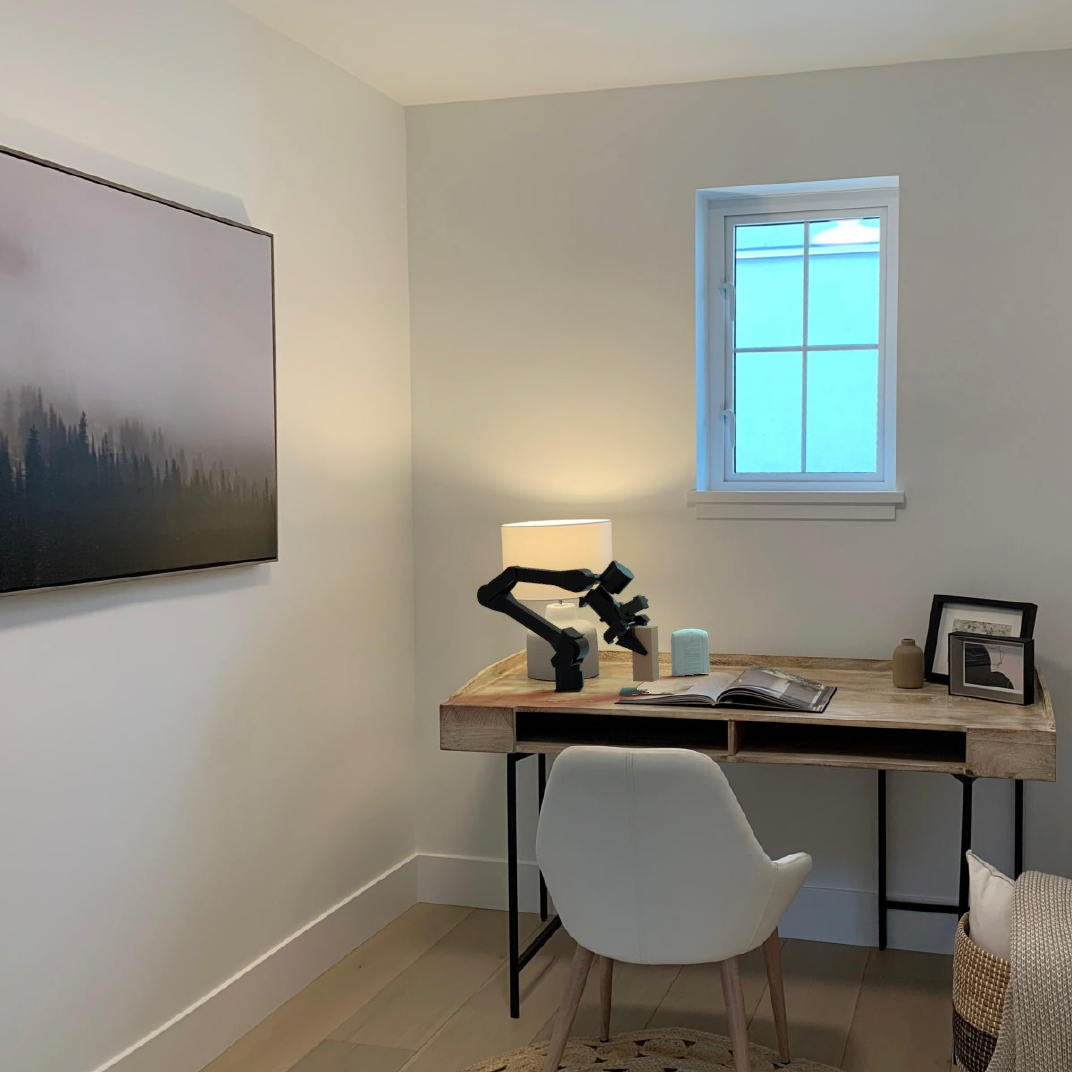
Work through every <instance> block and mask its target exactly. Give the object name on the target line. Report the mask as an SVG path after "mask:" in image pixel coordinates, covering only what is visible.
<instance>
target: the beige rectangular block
mask: <svg viewBox="0 0 1072 1072" xmlns="http://www.w3.org/2000/svg"><path fill="white" fill-rule="evenodd" d="M658 628H659V627H658V625H647V626H636V627H635V635H636V637H637V638H638V639H639V641H640V642H641V643H642V645H643V646H644V647H645V649H646V650H647V652H648V654H647V655H646V656H644V655H641V654H639V653H636V652H634V651H632V650H631V652H632V653H631V654H632V659H631V660H632V681H633V682H640V683H641V682H643V683H644V682H646V683H651V682H652V683H653V682H657V681H658V680H660V664H659V663H660V661H659V660H660V657H659V629H658Z"/></svg>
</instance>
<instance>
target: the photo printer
mask: <svg viewBox="0 0 1072 1072" xmlns="http://www.w3.org/2000/svg"><path fill="white" fill-rule="evenodd" d="M670 636H671V638H670V653H671V654H670V658H671V662H670V663H671V664H670V665H671V677H686V676H685V675H692V676H695V675H694V674H701V673H709V672H710V646H709V645H710V643H709V642H710V641H709V634H708V631H706V630H703V629H698V628H684V629H679V630H676V631H673V632H672V633H671V635H670Z"/></svg>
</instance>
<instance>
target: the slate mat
mask: <svg viewBox="0 0 1072 1072" xmlns="http://www.w3.org/2000/svg"><path fill="white" fill-rule="evenodd" d="M638 687H639V686H635V687H634V686H632V687H628V686H627V687H626V686H625V687H624V686H623V687H621V688H620V691H619V692H618V695H619V696H621V697H622V696H623V697H624V696H633V695H632V694H642V693H649V692H645V691H639V690H637V688H638Z"/></svg>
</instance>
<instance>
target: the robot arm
mask: <svg viewBox="0 0 1072 1072" xmlns="http://www.w3.org/2000/svg"><path fill="white" fill-rule="evenodd" d="M634 579H635V575H634V573H633V572H632V571H631V569H629V568H628V567H626V566H625V565H623V564H621V563H619V562H618V561H617V560H616V559H615V560H611V562H610V563H608V566H607V567H606V568H605V570H603V572H602V573H594V572H593V571H592V570H591V569H590V568H587V567H586V568H584V567H583V568H574V569H565V570H564V569H563V570H556V569H547V568H546V569H545V568H536V567H526V566H520V565H511V566H508V567H506V568H505V569H504V570H503V571H502V572H501V573H500V574H498V575H497V576H495V577H494V578H493V579H491V580H490V581H489V582H488V583H487V584H486V583H485V584H482V585H480V587H478V589H477V592H476V598H477V602H478V604H480V605H481V606H482V607H485V608H487V609H489V610H491V611H494V612H499V613H502V614H505V615H506V616H508V617H510V618H511V619H512V620H514V621H516V622H517V623H518V624H520V625H522V626H523V627H525V628H526V629H528V630H529V631H531V632H532V633H534V634H536V635H537V636H539V637H540V638H542V639H543V640H545V641H546V642H547V643H549V644H550V646H551V647H552V649H553V650H554V652H555V653H554V655H553V656H552V657H551V658H550V663H551V666H552V668H554V675H555V676H554V678H555V689H554V692H556V693H557V692H559V693H560V692H581V691H582V690H583V688H584V687H585V678H584V677H585V676H584V670H583V669H582V664H584V660H585V657H586V656H587V655H588V654H589V653H590V642H589V640H588V639H587V638H586V637H585V634H584V633H581V632H579V631H578V630H577V629H575V628H574V627H573V626H570V627H569V626H568V627H566V628H565V627H564V628H560V627H558V626H556V625H555V624H553V623H552V622H550V621H549V620H548V619H546V618H544V617H543V616H541V614H538V613H537V612H535V611H534V610H533V609H531V608H529V607H527V606H526V605H524V604H523V603H521V602H520V601H518V600H517V598H516V597H515V596H514V594H513V592H512V591H513V589H515V587H516V586H517V584H518V583H527V584H535V585H545V586H546V585H547V586H554V587H557V588H559V589H561V590H565V591H568V592H571V593H584V592H587V593H585V595H582V596H579V597H578V600H579V601H578V608H579V609H581V608H586V607H587V606H589V607H590V609H592V611H594V612H595V613H596V615H597V616H598V617H599V619H598V621H599V622H600V623H605V624H606V625H607V626H608V628H607V629H606V630H605V631H604V632H603V636H602V637H603V640H604V642H605V643H606V644H607V645H609V646H610V645H612V644H614V645H615V646H619V647H622V648H624V649H628V650H630V651H631V652H632V651H634V652H636V653H639V654H641V655H644V656H646V655H647V654H648V652H647V650H646V649H645V647H644V646H643V645H642V643H641V642H640V641H639V639H638V638H637V637H636V635H635V627H636V626H648V624H649V622H650V620H651V618H650V617H649V616H647V614H646V613H642V614H641V613H640V614H637V613H639V612H641V611H644V610H647V609H648V608H650V606H649V604H648V602H649V599H648V598H647V597H646V595H642V594H637V595H635V596H632V599H631V600H629V601H627V602H625V603H624V602H623V601H619V602H618V601H617V599H615V598H614V597H613V596H614V595H620V594H621V593H622V592H623V591H624V590H625V589H626V588H627V587H628V585H630V584H631V582H632V581H633V580H634ZM595 585H597V586H596V587H595V588H594V586H595ZM612 595H613V596H612ZM636 614H637V615H636ZM614 639H617V640H616V642H615V641H614ZM614 642H615V643H614Z"/></svg>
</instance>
